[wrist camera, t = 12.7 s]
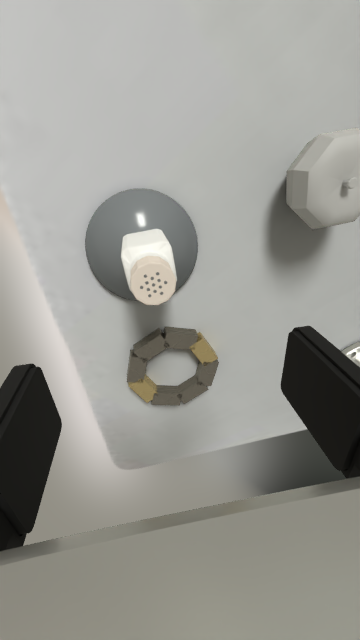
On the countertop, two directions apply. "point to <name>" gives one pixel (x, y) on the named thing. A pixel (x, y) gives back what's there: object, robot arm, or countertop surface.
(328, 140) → the octagonal pegged knob
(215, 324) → the countertop surface
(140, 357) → the collar
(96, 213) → the gray glossy dome
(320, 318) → the countertop surface
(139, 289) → the salt shaker
